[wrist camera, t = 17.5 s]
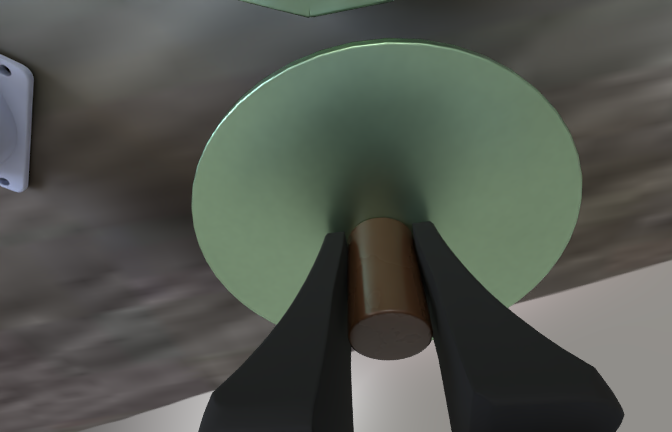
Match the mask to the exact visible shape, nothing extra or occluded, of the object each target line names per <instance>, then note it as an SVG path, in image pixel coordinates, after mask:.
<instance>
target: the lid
mask: <svg viewBox="0 0 672 432" xmlns="http://www.w3.org/2000/svg"><path fill="white" fill-rule="evenodd" d="M581 200H582V172H581V166H580V160H579V154H578V152H577V149H576V146H575V144H574V141H573V138H572V136H571V133H570V131H569V129H568V128H567V126H566V125H565V123H564V121H563V120H562V118H561V116H560V115H559V113H558V112H557V110H556V109H555V108H554V107H553V106H552V105H551V104H550V103H549V102H548V100H547V99H546V98H545V97H544V96H543V95H542V94H541V93H540V92H539V91H538V90H537V89H536V88H535V87H534V86H532V85H531V84H530V83H528V82H527V81H526V80H524V79H523V78H522V77H521V76H519V75H518V74H517V73H515V72H514V71H513V70H511V69H510V68H508V67H506V66H504V65H502V64H500V63H498V62H496V61H494V60H492V59H491V58H489V57H487V56H485V55H482V54H479V53H476V52H473V51H470V50H467V49H464V48H462V47H459V46H456V45H452V44H446V43H440V42H434V41H429V40H423V39H399V38H384V39H375V40H366V41H357V42H351V43H347V44H343V45H339V46H335V47H331V48H327V49H324V50H320V51H318V52H315V53H313V54H310V55H308V56H305V57H303V58H301V59H298V60H296V61H293V62H291V63H289V64H287V65H286V66H284V67H282V68H281V69H279V70H277V71H276V72H274V73H272V74H271V75H269V76H267V77H266V78H264V79H263V80H261V81H260V82H259V83H258V84H257V85H255V86H254V87H253V88H252V89H250V90H249V91H248V92H247V93H245V94H244V95H243V96H242V97H241V98H240V99H239V100H238V101H237V102H236V103H235V105H234V106H233V107H232V108H231V109H230V110H229V111H228V112H227V113H226V115H225V116H224V117H223V118H222V120H221V121H220V123H219V125H218V126H217V128H216V129H215V131H214V132H213V134H212V135H211V137H210V139H209V140H208V142H207V143H206V146H205V148H204V150H203V153H202V155H201V158H200V160H199V162H198V165H197V169H196V173H195V177H194V182H193V186H192V204H191V208H192V216H193V225H194V229H195V233H196V236H197V240H198V243H199V246H200V248H201V251H202V253H203V255H204V257H205V259H206V261H207V263H208V264H209V266H210V268H211V269H212V271H213V272H214V274H215V275H216V277H217V278H218V279H219V280H220V282H221V283H222V284H223V285H224V286H225V287H226V289H227V290H228V291H229V292H230V293H231V294H233V295H234V296H235V297H236V298H237V299H238V300H239V301H240V302H241V303H243V304H244V305H245V306H247V307H248V308H249V309H251V310H252V311H253V312H255V313H256V314H258V315H260V316H261V317H263V318H265V319H267V320H268V321H270V322H272V323H274V324H276V325H277V324H278V322H279V321H280V320H281V318H282V317H283V316H284V314H285V313H286V311H287V310H288V308H289V307H290V305H291V304H292V302H293V301H294V299H295V297H296V296H297V294H298V292H299V291H300V289H301V287H302V285H303V284H304V282H305V280H306V278H307V276H308V274H309V272H310V270H311V268H312V266H313V264H314V262H315V260H316V258H317V256H318V253H319V251H320V249H321V246H322V244H323V241H324V238H325V236H326V235H327V233H335V232H343V231H344V232H345V237H346V241H347V246H348V274H347V337H348V341H349V343H350V345H351V346H352V348H353V349H354V350H355V351H357V352H358V353H360V354H362V355H364V356H366V357H369V358H373V359H378V360H399V359H404V358H407V357H411V356H413V355H416V354H418V353H420V352H421V351H422V350H424V349H425V348H426V347H427V346H428V345H429V344H430V342H431V340H433V328H432V323H431V319H430V314H429V309H428V305H427V300H426V295H425V290H424V286H423V281H422V276H421V271H420V267H419V263H418V259H417V254H416V250H415V245H414V240H413V227H412V223H419V222H427V221H431V222H432V223H433V224H434V226H435V227H436V229H437V231H438V232H439V234H440V235H441V237H442V238H443V240H444V241H445V242H446V244H447V245H448V246H449V248H450V249H451V250H452V252H453V253H454V254H455V255H456V256H457V258H458V259H459V260H460V261H461V262H462V264H463V265H464V266H465V267H466V268H467V269H468V270H469V272H470V273H471V274H472V275H473V276H474V277H475V278H476V279H477V280H478V281H479V282H480V283H481V284H482V285H483V286H484V287H485V288H486V289H487V290H488V291H489V292H490V293H491V294H492V295H493V296H494V297H496V298H497V299H498V300H499V301H500V302H501V303H502V304H503V305H505V306H506V307H507V308H509V307H510V306H512V305H513V304H514V303H516V302H517V301H519V300H520V299H521V298H522V297H524V296H525V295H526V294H527V293H528V292H530V291H531V290H532V289H533V288H534V287H535V286H536V285H537V284H538V283H539V282H540V281H541V280H542V279H543V278H544V277H545V276H546V275H547V274H548V273H549V271H550V270H551V269H552V267H553V266H554V265H555V263H556V262H557V261H558V259H559V258H560V257H561V255H562V253H563V251H564V249H565V248H566V246H567V244H568V242H569V240H570V238H571V236H572V233H573V230H574V228H575V225H576V223H577V220H578V215H579V210H580V205H581Z"/></svg>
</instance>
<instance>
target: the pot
mask: <svg viewBox="0 0 672 432" xmlns="http://www.w3.org/2000/svg"><path fill="white" fill-rule="evenodd" d="M239 1H243V2H247V3H251V4H255V5H259V6H263V7H267V8H271V9H275V10H279V11H284V12H288V13H292V14H296V15H300V16H304V17H308V18H309V17H317V16H322V15H327V14H332V13H337V12H342V11H347V10H352V9H357V8H362V7H367V6H372V5H377V4H382V3H387V2H392V1H394V0H239Z"/></svg>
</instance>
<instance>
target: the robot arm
mask: <svg viewBox="0 0 672 432" xmlns="http://www.w3.org/2000/svg"><path fill="white" fill-rule="evenodd" d="M4 65H5V66H6V67H8V68H9V70H10V72H11V73H10V72H8V71H7V70H6V68H5V66H4ZM33 86H34V78H33V74H32V73H31V71H30V70H29V69H28V68H27V67H26V66H24V65H23V64H20V63H18V62H16V61H14V60H12V59H10V58H8V57H6V56H4V55H1V54H0V186H2V187H4V188H7V189H10V190H12V191H15V192H23V191H24V190H25V189H27V188H28V181H29V162H30V143H31V124H32V105H33ZM6 179H7V180H6ZM412 227H413V240H414V245H415V250H416V254H417V259H418V263H419V267H420V271H421V276H422V281H423V286H424V290H425V295H426V300H427V305H428V309H429V314H430V319H431V323H432V328H433V340H434V343H435V346H436V351H437V355H438V359H439V364H440V369H441V375H442V380H443V385H444V391H445V396H446V402H447V407H448V413H449V419H450V424H451V430H452V432H616V430H617V429H618V428H619V426H620V424H621V423H622V420H623V417H624V412H623V409H622V407H621V405H620V404H619V402H618V400H617V398H616V397H615V395H614V393H613V392H612V390H611V389H610V388H609V386H608V385H607V383H606V382H605V381H604V379H603V378H602V377H601V375H600V374H599V373H598V371H597V370H596V369H595V368H594V367H593V366H591V365H589V364H587V363H586V362H584V361H583V360H581V359H579V358H578V357H576V356H574V355H573V354H571V353H569V352H568V351H566V350H564V349H562V348H561V347H560V346H558V345H557V344H555V343H554V342H552V341H551V340H549V339H548V338H546V337H545V336H543V335H542V334H541V333H539V332H538V331H536V330H535V329H534V328H533V327H531V326H530V325H529V324H527V323H526V322H525V321H523V320H522V319H521V318H519V317H518V316H517V315H515V314H514V313H513V312H512V311H511V310H509V309H508V308H507V307H506V306H505V305H503V304H502V303H501V302H500V301H499V300H498V299H497V298H496V297H494V296H493V295H492V294H491V293H490V292H489V291H488V290H487V289H486V288H485V287H484V286H483V285H482V284H481V283H480V282H479V281H478V280H477V279H476V278H475V277H474V276H473V275H472V274H471V273H470V272H469V270H468V269H467V268H466V267H465V266H464V265H463V264H462V262H461V261H460V260H459V259H458V258H457V256H456V255H455V254H454V253H453V252H452V250H451V249H450V248H449V246H448V245H447V244H446V242H445V241H444V240H443V238H442V237H441V235H440V234H439V232H438V231H437V229H436V227H435V226H434V224H433V223H432V222H431V221H427V222H419V223H412ZM347 274H348V246H347V241H346V237H345V232H344V231H343V232H335V233H327V235H326V236H325V238H324V241H323V244H322V246H321V249H320V251H319V253H318V256H317V258H316V260H315V262H314V264H313V266H312V268H311V270H310V272H309V274H308V276H307V278H306V280H305V282H304V284H303V285H302V287H301V289H300V291H299V292H298V294H297V296H296V297H295V299H294V301H293V302H292V304H291V305H290V307H289V308H288V310H287V311H286V313H285V314H284V316H283V317H282V318H281V320H280V321H279V322H278V324H277V325H276V326H275V328H274V329H273V330H272V331H271V333H270V334H269V335H268V337H267V338H266V339H265V340H264V341H263V343H262V344H261V345H260V346H259V347H258V348H257V349H256V350H255V351H254V352H253V354H252V355H251V356H250V357H249V358H248V359H247V360H246V361H245V362H244V363H243V364H242V365H241V366H240V367H239V368H238V369H237V370H236V371H235V372H234V373H233V374H232V375H231V376H230V377H229V378H228V379H227V380H226V381H225V382H224V383H223V384H221V385H220V386H219V387H218V388H217V389H216V390H215V391H214V392H213V393H212V395H211V397H210V400H209V402H208V405H207V407H206V409H205V412H204V415H203V418H202V421H201V424H200V428H199V431H198V432H354V428H353V408H352V385H351V345H350V343H349V341H348V337H347Z"/></svg>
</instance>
